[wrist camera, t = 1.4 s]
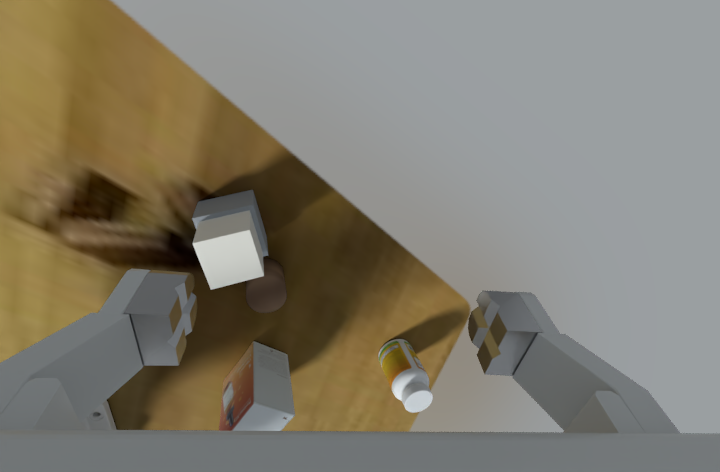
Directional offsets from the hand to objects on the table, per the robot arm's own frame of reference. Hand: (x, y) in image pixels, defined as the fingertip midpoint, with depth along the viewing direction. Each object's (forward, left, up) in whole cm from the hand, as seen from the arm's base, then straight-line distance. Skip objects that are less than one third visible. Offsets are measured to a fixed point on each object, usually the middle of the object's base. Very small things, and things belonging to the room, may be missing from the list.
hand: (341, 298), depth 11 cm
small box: (-32, +11, -34) cm, 47 cm away
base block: (-10, +7, -34) cm, 36 cm away
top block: (-10, +7, -29) cm, 31 cm away
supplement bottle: (-37, -9, -34) cm, 51 cm away
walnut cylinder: (-18, +6, -34) cm, 38 cm away
